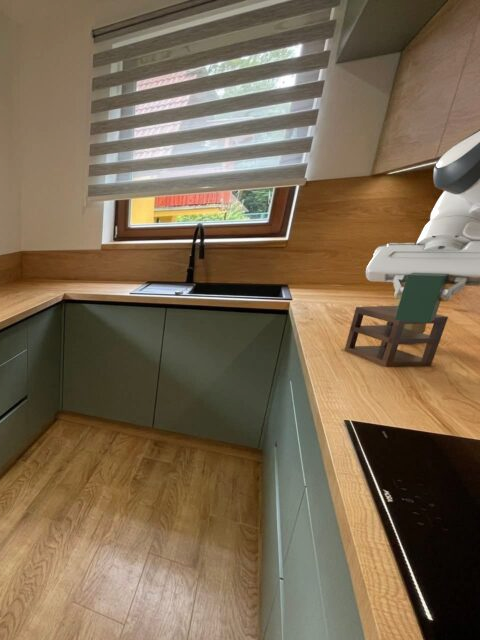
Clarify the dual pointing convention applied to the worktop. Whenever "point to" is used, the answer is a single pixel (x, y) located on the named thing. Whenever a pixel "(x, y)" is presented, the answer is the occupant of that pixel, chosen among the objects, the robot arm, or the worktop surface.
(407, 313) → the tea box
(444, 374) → the worktop surface
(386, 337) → the rack
